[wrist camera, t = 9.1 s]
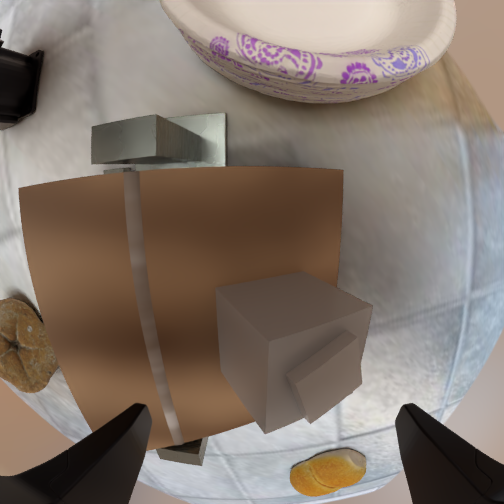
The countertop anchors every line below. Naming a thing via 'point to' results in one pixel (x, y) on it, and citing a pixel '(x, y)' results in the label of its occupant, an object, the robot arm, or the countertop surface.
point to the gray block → (290, 346)
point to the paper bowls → (316, 43)
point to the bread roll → (328, 472)
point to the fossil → (24, 347)
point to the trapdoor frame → (164, 157)
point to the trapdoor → (167, 279)
